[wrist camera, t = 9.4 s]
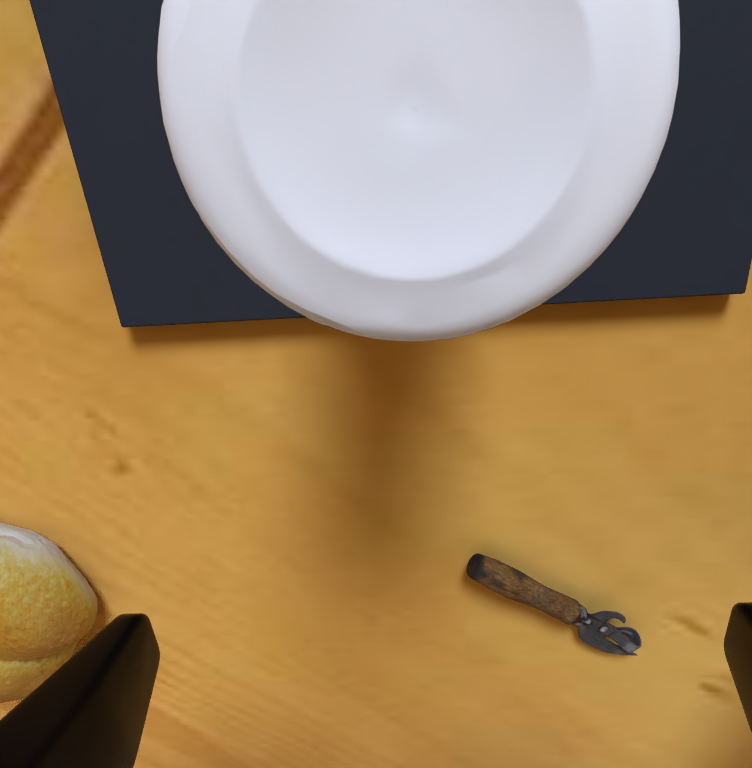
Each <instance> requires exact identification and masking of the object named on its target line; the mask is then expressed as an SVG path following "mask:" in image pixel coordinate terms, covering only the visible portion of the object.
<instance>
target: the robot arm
mask: <svg viewBox="0 0 752 768" xmlns="http://www.w3.org/2000/svg"><path fill="white" fill-rule="evenodd" d="M724 651H725V656H726V659H727V662H728V665H729V668H730V671H731V674H732V677H733V680H734V683H735V686H736V688H737V691H738V694H739V697H740V700H741V703H742V706H743V709H744V712H745V715H746V718H747V721H748V724H749V726H750V729H751V732H752V602H751V603H737V604H735V605H734V606H733V608H732V611H731V615H730V619H729V623H728V627H727V631H726V635H725V639H724ZM159 660H160V651H159V646H158V643H157V640H156V637H155V634H154V631H153V628H152V626H151V623H150V620H149V618H148V616H147V615H145V614H142V613H140V614H122V615H119V616H118V617H116V618H115V619H114V620H113V621H112V622H110V623H109V624H108V625H107V626H106V627H105V628H104V629H103V630H101V631H100V632H99V633H98V634H97V635H96V636H95V637H93V638H92V639H91V640H90V641H89V642H88V643H87V644H86V645H84V646H83V647H82V648H81V649H80V650H79V651H78V652H77V653H75V654H74V655H73V656H72V657H71V658H70V659H69V660H68V661H66V662H65V663H64V664H63V665H62V666H61V667H60V668H59V669H57V670H56V671H55V672H54V673H53V674H52V675H51V676H50V677H48V678H47V679H46V680H45V681H44V682H43V683H42V684H40V685H39V686H38V687H37V688H36V689H35V690H34V691H33V692H31V693H30V694H29V695H28V696H27V697H26V698H25V699H24V700H22V701H21V702H20V703H19V704H18V705H17V706H16V707H15V708H13V709H12V710H11V711H10V712H9V713H8V714H7V715H6V716H4V717H3V718H2V719H1V720H0V768H133V766H134V763H135V759H136V756H137V752H138V748H139V744H140V740H141V736H142V732H143V728H144V724H145V720H146V715H147V711H148V707H149V703H150V699H151V695H152V691H153V687H154V682H155V678H156V674H157V670H158V666H159Z"/></svg>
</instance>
